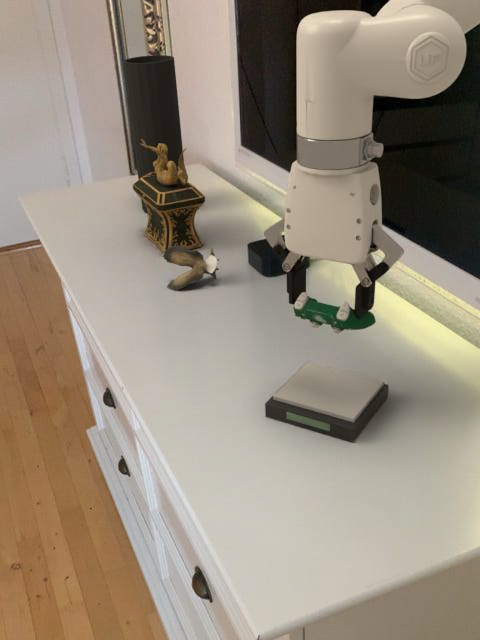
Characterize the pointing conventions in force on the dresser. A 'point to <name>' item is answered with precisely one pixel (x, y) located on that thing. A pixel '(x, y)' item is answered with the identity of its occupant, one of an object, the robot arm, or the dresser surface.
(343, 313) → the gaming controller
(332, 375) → the scale
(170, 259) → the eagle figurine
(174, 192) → the decorative box
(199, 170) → the dresser surface
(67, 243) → the dresser surface
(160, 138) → the vase
